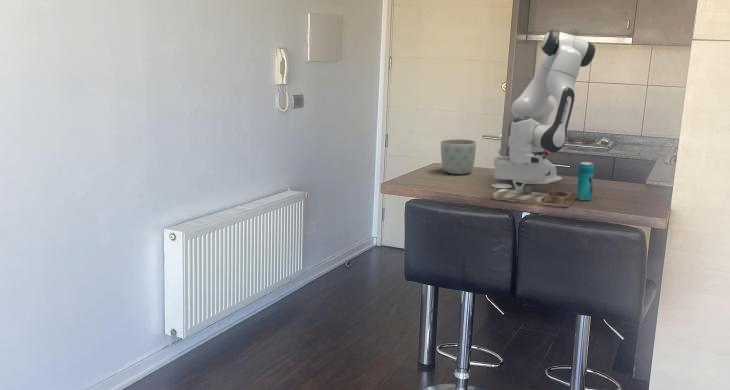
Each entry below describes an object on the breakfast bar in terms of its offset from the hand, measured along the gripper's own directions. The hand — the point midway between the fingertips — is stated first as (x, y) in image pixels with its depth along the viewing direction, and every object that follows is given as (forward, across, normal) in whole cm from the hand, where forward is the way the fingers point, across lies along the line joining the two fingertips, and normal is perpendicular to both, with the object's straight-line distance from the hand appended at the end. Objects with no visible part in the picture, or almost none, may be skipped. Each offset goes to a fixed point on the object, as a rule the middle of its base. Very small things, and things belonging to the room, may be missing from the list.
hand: (518, 190), depth 291 cm
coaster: (+4, -9, +22) cm, 24 cm away
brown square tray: (+4, +15, -4) cm, 16 cm away
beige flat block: (+4, +1, 0) cm, 4 cm away
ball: (-1, +4, -1) cm, 4 cm away
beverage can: (+4, +26, +6) cm, 27 cm away
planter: (+4, -33, +48) cm, 58 cm away
